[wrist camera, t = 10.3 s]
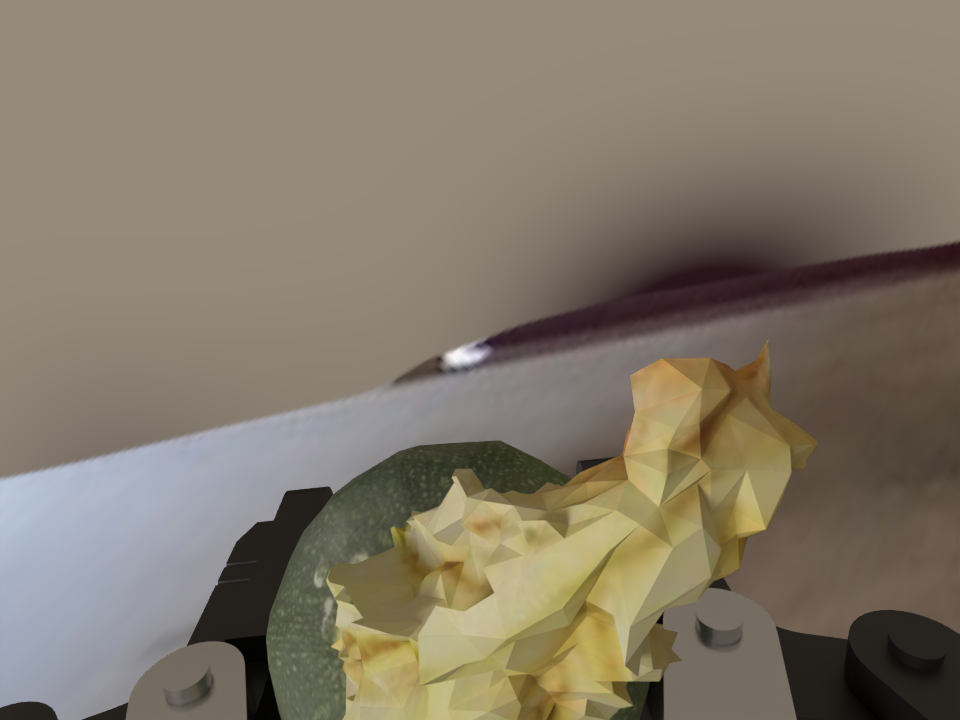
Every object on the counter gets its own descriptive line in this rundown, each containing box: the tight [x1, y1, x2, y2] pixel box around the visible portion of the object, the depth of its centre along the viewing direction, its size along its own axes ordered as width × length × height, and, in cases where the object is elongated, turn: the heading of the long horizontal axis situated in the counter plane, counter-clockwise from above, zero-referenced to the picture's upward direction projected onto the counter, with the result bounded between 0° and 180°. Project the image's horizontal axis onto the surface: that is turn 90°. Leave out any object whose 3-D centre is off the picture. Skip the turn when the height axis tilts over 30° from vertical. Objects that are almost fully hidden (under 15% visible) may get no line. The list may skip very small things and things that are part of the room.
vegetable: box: [266, 340, 818, 720], centre depth 11 cm, size 4×4×20 cm
